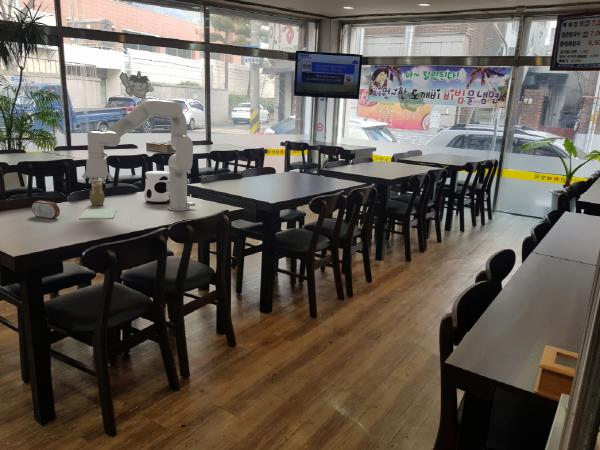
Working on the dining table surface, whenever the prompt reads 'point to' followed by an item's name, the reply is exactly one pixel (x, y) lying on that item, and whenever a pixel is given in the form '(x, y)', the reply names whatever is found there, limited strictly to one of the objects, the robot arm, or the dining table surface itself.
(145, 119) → the robot arm
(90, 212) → the mat
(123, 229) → the dining table surface
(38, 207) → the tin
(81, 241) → the dining table surface
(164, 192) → the milk container
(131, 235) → the dining table surface
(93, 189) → the stool
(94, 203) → the squeeze bottle
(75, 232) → the dining table surface
